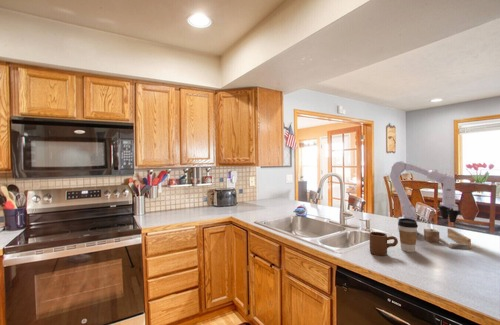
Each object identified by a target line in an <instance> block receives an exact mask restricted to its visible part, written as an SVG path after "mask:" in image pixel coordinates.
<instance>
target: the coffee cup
mask: <svg viewBox="0 0 500 325" xmlns="http://www.w3.org/2000/svg"><path fill="white" fill-rule="evenodd" d="M398 225H399V230H398V232H399V243H400V249H401V251H403V252H407V253H414V252H416V245H417V237H418V236H417V235H418V233H417V231H418V230H417V229H418V228H419V227H418V226H419V225H418V223H417V220H416V221H415V220H413V219H407V218H401V219H399V223H398V222H397V226H398Z"/></svg>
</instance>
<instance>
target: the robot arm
mask: <svg viewBox="0 0 500 325" xmlns="http://www.w3.org/2000/svg"><path fill="white" fill-rule="evenodd" d="M390 170H391V171H390V174H389V179H390V181H391V184H392V185H393V188H394V190H395V193H396V195H397V197H398V200H399V202H400V205H401V210H402V216H398V218H397V230H398V231H399V225H398V223H399V219H401V218H407V219H413V220H415V221H416V222H417V216H416V213H417V210H416V208H415V206H413V205H412V203H411V201H410V199H409V196H408V195H407V192H406V189H405V188H404V185H403V183H402V181H401V178H400V177H401V175H402V173H403V172H404V171H407V172H408V171H412V172H416V173H418V174H421V175H424V176H426V178H427V179H429V180H431V181H433V182H436V183H439V184H442V189H441V190H442V191H441V192H442V197H441V198H442V200H441V201H440V202H439V206H437V207H438V209H439V211H440V213H441V217H442V219H443V220H448V218H449V222H450V223H456V221H457V218H458V215H459V214H460V213H461V210H459V205H458V204H456V179H455V177H453V176H451V175H448V173H443V172H439V171H438V170H437V169H435V170H434V169H431V170H428V169H426V168H422V167H421V166H418V165H415V164H414V163H408V162H405V161H396V162H394V163H393V165H392V166H391V169H390ZM417 234H420V232H419V231H418V230H417Z"/></svg>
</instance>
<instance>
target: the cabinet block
mask: <svg viewBox="0 0 500 325" xmlns="http://www.w3.org/2000/svg"><path fill="white" fill-rule="evenodd" d="M439 237H440V231H438V230H436V229H433V228H429V229H428V228H424V229H423V240H424V241H425V242H426V243H431V244H432V243H434V244H436V243H437V244H440V241H439Z"/></svg>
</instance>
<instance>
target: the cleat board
mask: <svg viewBox="0 0 500 325" xmlns="http://www.w3.org/2000/svg"><path fill="white" fill-rule="evenodd" d="M447 238H449V239H450V240H452V241H454V242H450V243H449V242H448V241H446V240H444V239H443V238H442V237H440V236H439V243H442V244H443V245H444V246H446V247H447V248H450V249H461V250H462V249H463V250H471V249H472V246H471V244H472V240H471V238H469V237H467V236H465V235H464V234H461V233H460V232H458V231H456V230H453V229H452V228H447Z"/></svg>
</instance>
